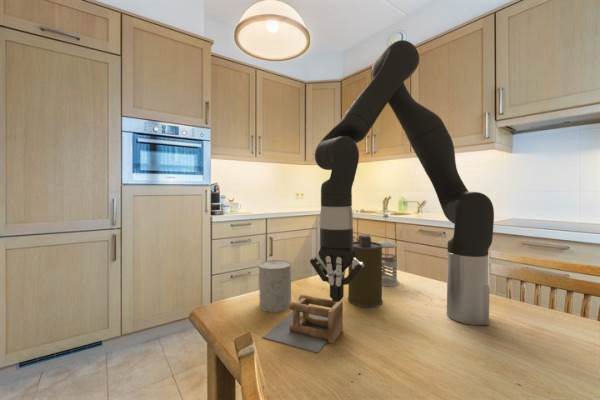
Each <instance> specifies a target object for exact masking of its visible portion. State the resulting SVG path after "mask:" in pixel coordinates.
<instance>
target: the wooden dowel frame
mask: <svg viewBox="0 0 600 400" xmlns="http://www.w3.org/2000/svg"><path fill="white" fill-rule="evenodd" d="M319 306H320V307H319ZM325 307H326V308H325ZM288 310H290V311H292V312H293V323H291V324H290V326H289V330H290V331H292V332H296V333H300V334H304V335H308V336H312V337H316V338H320V339H324V340H328V341H327V342H328V343H330V344H334V342H335V341H336V339H337V338H338V337H339V335H340V333H341V332H342V331H343V330H344V329H343V328H344V326H343V324H344V322H343V319H344V318H343V316H344V314H343V310H344V309H343V300H342V299H341V300H340V301H339V302H335V301H332V299H329V298H328V299H326V298H322V297H316V296H311V295H305V294H299V297H298V301H296V302H295V301H291V302H290V304H289V309H288ZM300 312H303V315H302V314H301V315H300ZM309 314H312V315H317V316H322V317H326V318H328V320H325V319H320V318H316V317H311V316H309ZM306 323H307V324H312V325H316V326H320V327H325V328H328V331H323V330H319V329H315V328H311V327H307V326H304V325H305V324H306Z"/></svg>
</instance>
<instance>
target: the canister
mask: <svg viewBox="0 0 600 400" xmlns="http://www.w3.org/2000/svg"><path fill="white" fill-rule="evenodd" d="M382 247H383V246H382V244H380V243H377V242H376V241H372V238H371V236H370V235H369V234H359V235H358V240H357V241H353V251H354V253H355V258H356V259H357V260H359V261H360V262H364V267H363V268H362V269H361V270H360V271H359V272H358V274H357V275H356V276H355V277H354V278H353V279H352V281H351V282H350V283H349V284H348V287H347V288H348V295H347V301H348V303H350V304H351V305H354V306H357V307H361V308H375V307H379V306H380V305H382V304H383V302H384V301H383V297H382V295H383V290H382V289H383V286H382V271H383V270H382V262H383V260H382V254H383V248H382ZM352 264H353V263H352V262H351V264H350V265H349V266H348V268H347V269H348V271H347V273H348V274H347V276H348V275H349V274H350V273H351V271H352V270H353V268H352Z"/></svg>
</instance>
